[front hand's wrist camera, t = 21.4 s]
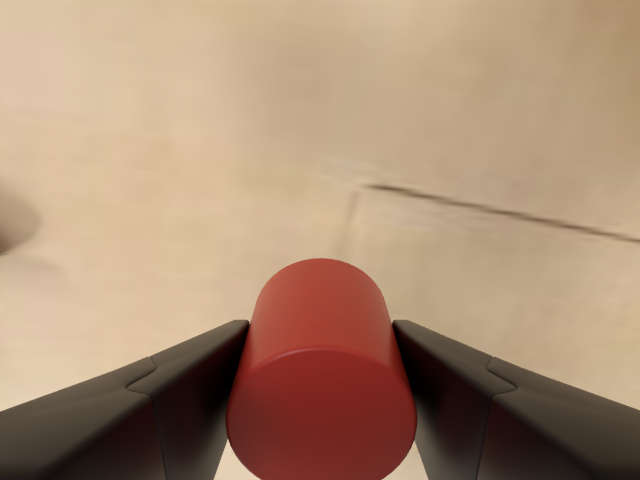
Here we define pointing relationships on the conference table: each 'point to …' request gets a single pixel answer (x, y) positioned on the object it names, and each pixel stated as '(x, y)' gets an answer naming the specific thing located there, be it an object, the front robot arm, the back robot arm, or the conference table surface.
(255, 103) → the conference table surface
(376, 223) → the conference table surface
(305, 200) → the conference table surface
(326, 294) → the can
